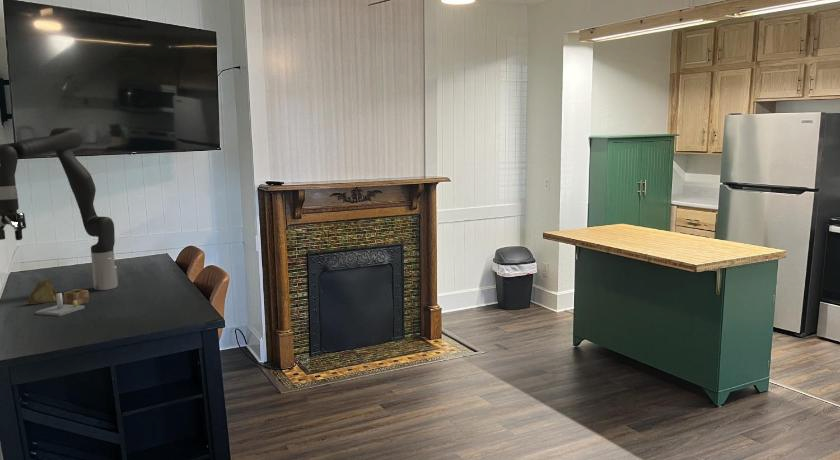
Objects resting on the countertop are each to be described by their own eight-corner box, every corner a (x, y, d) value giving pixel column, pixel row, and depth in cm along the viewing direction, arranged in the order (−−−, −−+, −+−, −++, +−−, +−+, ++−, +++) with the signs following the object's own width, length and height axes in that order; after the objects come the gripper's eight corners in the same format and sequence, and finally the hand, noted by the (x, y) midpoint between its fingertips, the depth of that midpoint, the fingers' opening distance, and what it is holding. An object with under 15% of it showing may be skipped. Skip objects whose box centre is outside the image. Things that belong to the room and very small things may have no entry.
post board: (61, 306, 256) (59, 289, 255) (84, 308, 253) (83, 291, 252) (35, 313, 245) (33, 296, 244) (59, 315, 242) (58, 298, 241)
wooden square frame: (77, 300, 265) (76, 289, 265) (89, 301, 264) (88, 290, 263) (64, 304, 259) (63, 292, 259) (76, 305, 258) (75, 293, 257)
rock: (22, 301, 257) (48, 296, 258) (23, 282, 260) (49, 278, 262) (34, 311, 266) (59, 306, 268) (35, 293, 270) (60, 288, 272)
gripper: (29, 197, 242) (33, 238, 244) (1, 197, 246) (5, 237, 248) (11, 198, 235) (15, 241, 237) (-18, 198, 239) (-13, 240, 241)
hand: (10, 239), depth 243 cm, fingers open, 8 cm apart
